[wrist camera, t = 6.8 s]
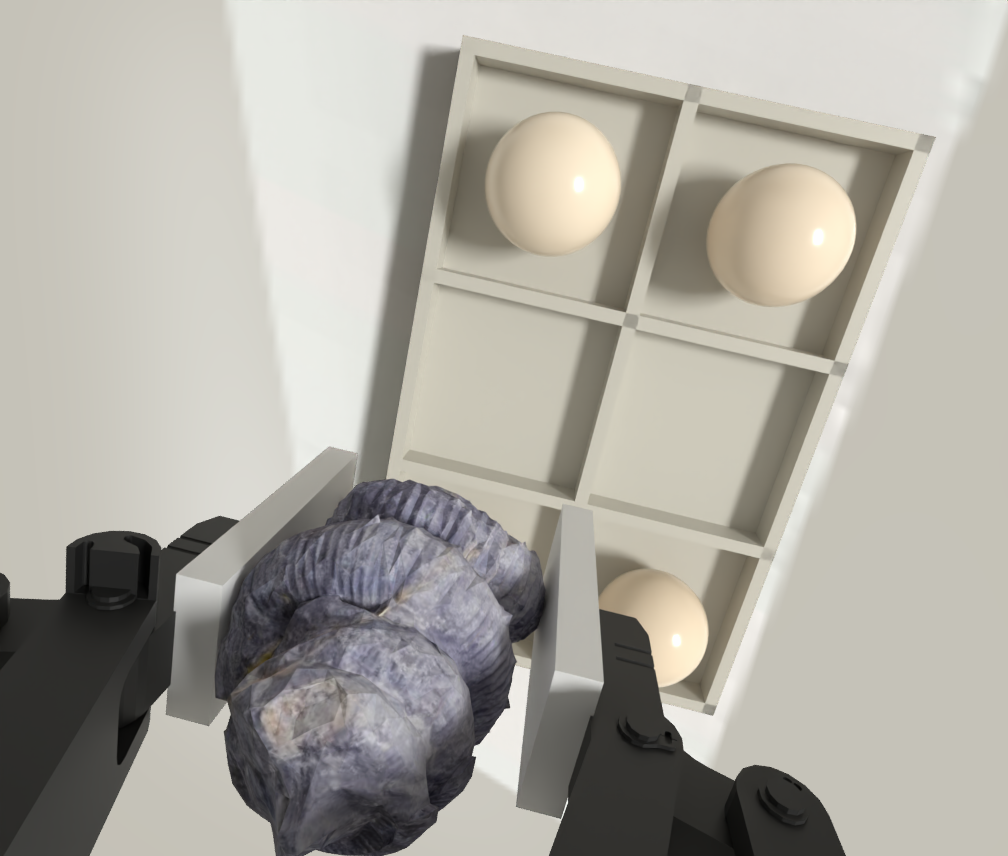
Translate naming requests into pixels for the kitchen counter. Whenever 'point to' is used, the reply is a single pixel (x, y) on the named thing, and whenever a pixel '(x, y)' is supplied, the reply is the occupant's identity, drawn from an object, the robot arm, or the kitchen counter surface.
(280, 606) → the seashell
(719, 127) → the egg tray
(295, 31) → the kitchen counter surface
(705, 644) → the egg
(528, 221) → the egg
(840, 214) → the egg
